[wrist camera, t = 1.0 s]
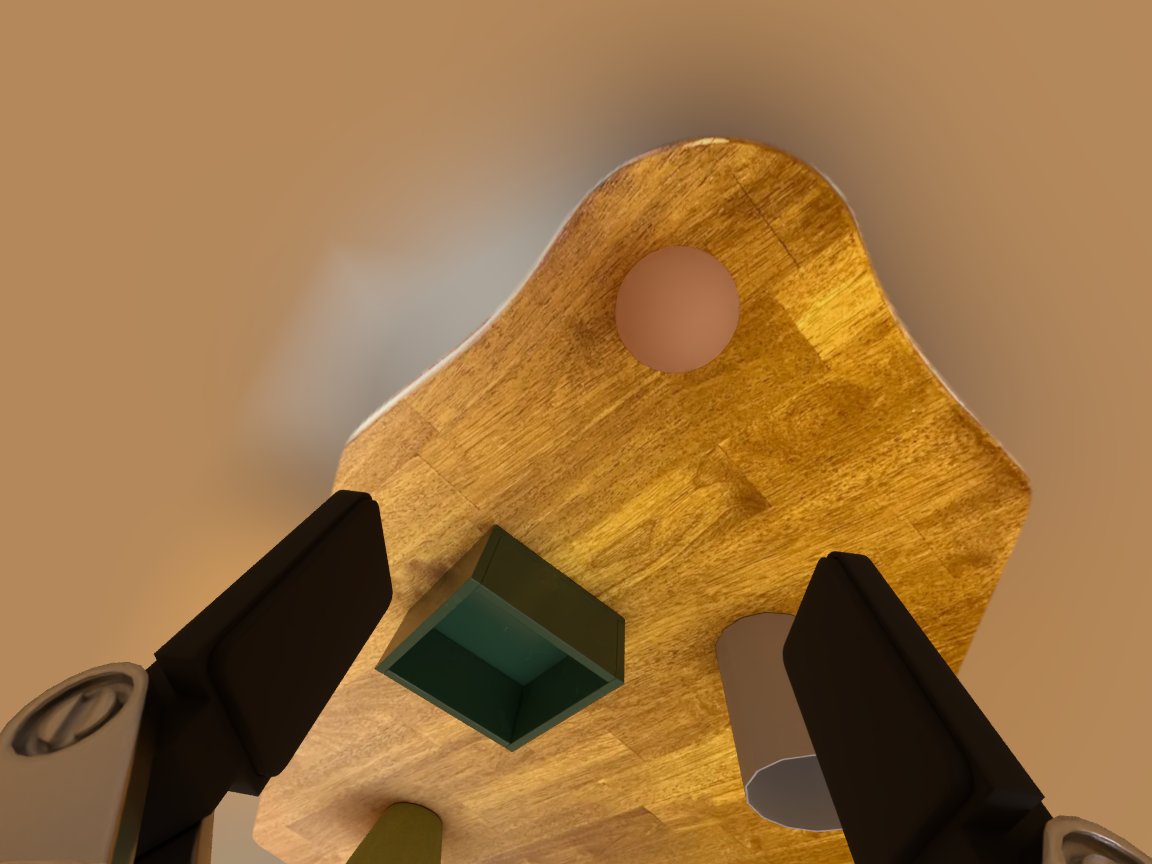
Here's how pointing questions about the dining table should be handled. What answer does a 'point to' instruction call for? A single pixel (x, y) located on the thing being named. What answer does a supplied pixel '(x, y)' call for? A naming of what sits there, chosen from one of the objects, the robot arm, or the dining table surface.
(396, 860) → the flower pot
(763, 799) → the cup
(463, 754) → the dining table surface
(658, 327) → the egg
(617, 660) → the dark green open crate
